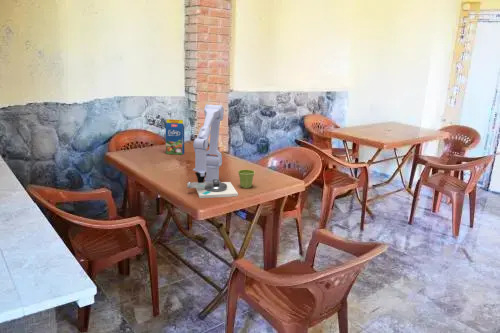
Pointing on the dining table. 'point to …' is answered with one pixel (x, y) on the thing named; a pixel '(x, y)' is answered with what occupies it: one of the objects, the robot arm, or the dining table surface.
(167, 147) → the blue food package
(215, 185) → the crank handle
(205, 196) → the base board
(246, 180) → the plant pot
